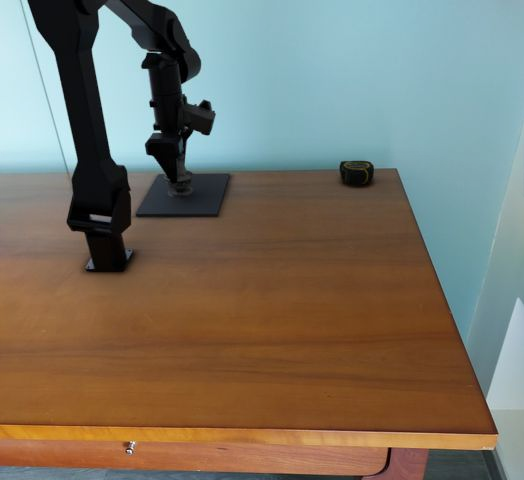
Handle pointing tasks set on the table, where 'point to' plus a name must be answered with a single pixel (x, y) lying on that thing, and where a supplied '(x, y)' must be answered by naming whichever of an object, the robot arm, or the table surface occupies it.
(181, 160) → the salt shaker
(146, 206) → the mat
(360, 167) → the tape measure
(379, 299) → the table surface
